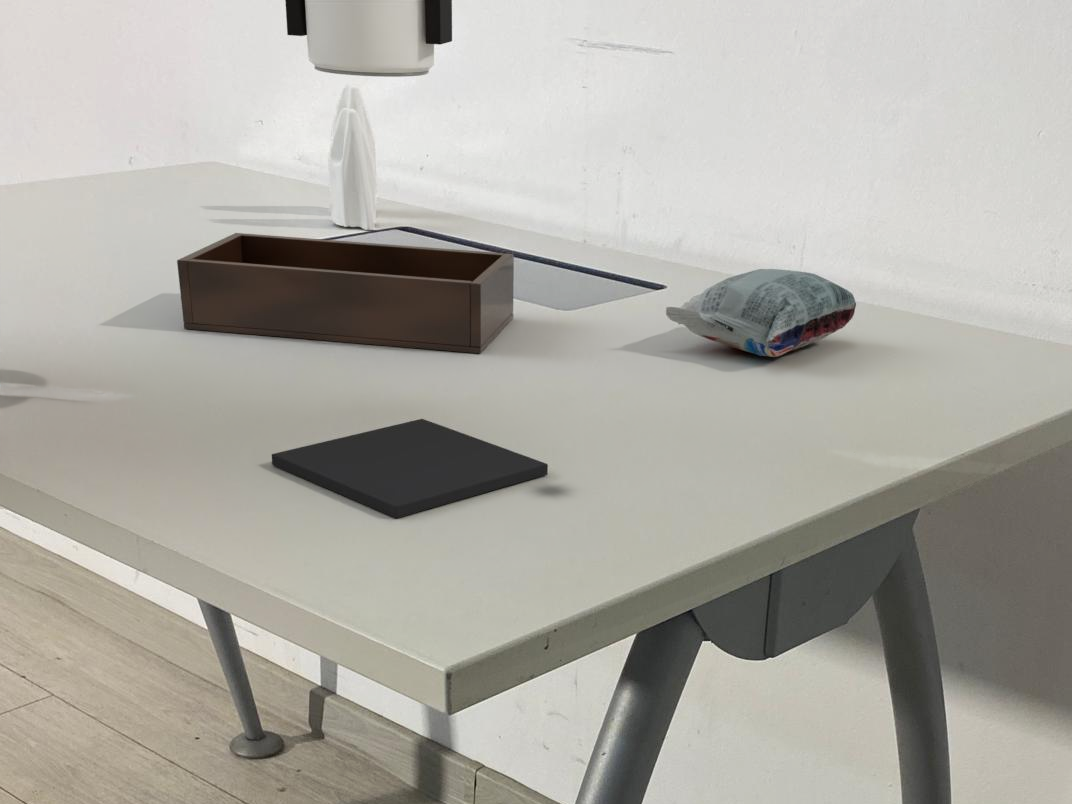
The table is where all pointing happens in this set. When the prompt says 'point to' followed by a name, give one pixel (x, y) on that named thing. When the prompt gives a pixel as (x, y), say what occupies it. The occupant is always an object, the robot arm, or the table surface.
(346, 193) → the white ridged upright piece
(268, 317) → the brown wooden box
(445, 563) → the table surface
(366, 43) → the can
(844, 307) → the packaged food
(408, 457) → the mat
